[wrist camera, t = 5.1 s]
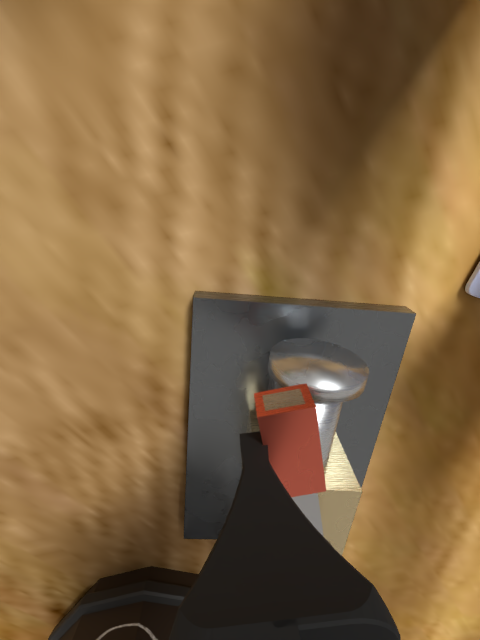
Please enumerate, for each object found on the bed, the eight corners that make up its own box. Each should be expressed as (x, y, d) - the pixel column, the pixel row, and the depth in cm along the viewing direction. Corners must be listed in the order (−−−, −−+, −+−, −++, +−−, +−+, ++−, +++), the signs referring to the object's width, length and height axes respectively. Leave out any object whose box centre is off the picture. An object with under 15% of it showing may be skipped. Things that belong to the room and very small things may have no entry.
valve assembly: (195, 290, 19) (175, 361, 12) (405, 306, 20) (516, 381, 13) (185, 524, 27) (169, 661, 19) (339, 527, 28) (383, 659, 20)
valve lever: (333, 561, 16) (343, 593, 15) (286, 569, 16) (291, 602, 15) (311, 382, 12) (322, 405, 11) (248, 394, 12) (251, 418, 11)
